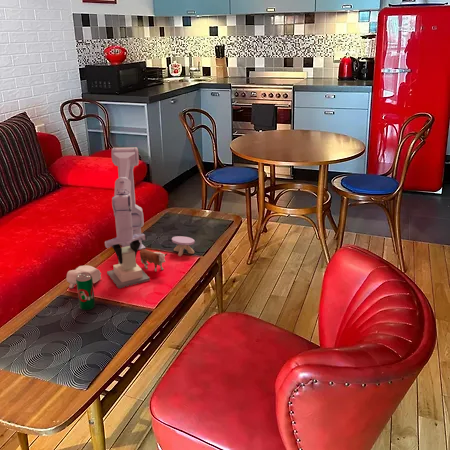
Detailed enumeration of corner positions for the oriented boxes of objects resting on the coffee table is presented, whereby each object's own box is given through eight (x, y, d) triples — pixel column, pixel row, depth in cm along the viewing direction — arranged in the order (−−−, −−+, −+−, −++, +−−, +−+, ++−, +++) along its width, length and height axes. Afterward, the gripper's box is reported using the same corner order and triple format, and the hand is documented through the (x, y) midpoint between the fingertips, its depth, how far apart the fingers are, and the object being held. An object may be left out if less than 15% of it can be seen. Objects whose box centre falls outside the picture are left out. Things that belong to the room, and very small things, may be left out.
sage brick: (118, 263, 186) (117, 248, 184) (130, 260, 188) (128, 245, 186) (124, 269, 181) (123, 254, 179) (136, 267, 183) (135, 252, 181)
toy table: (167, 253, 206) (166, 240, 204) (180, 245, 213) (180, 233, 211) (186, 258, 201) (186, 245, 199) (199, 250, 208) (199, 238, 206)
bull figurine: (163, 276, 187) (162, 256, 184) (138, 266, 194) (136, 247, 191) (171, 271, 190) (170, 252, 187) (146, 262, 198) (145, 243, 195)
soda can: (90, 301, 170) (86, 270, 165) (98, 307, 167) (94, 275, 162) (76, 307, 167) (72, 275, 162) (84, 312, 163) (80, 280, 159)
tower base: (107, 273, 189) (106, 264, 187) (137, 266, 194) (136, 257, 193) (118, 288, 178) (117, 278, 177) (149, 280, 184) (149, 270, 182)
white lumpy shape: (82, 285, 187) (57, 290, 172) (85, 263, 186) (60, 265, 172) (102, 289, 184) (79, 294, 170) (105, 266, 184) (81, 269, 170)
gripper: (107, 234, 172) (111, 269, 177) (147, 226, 179) (149, 260, 184) (101, 227, 178) (105, 262, 183) (140, 220, 184) (142, 253, 189)
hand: (127, 261), depth 184 cm, fingers closed on sage brick, 4 cm apart
